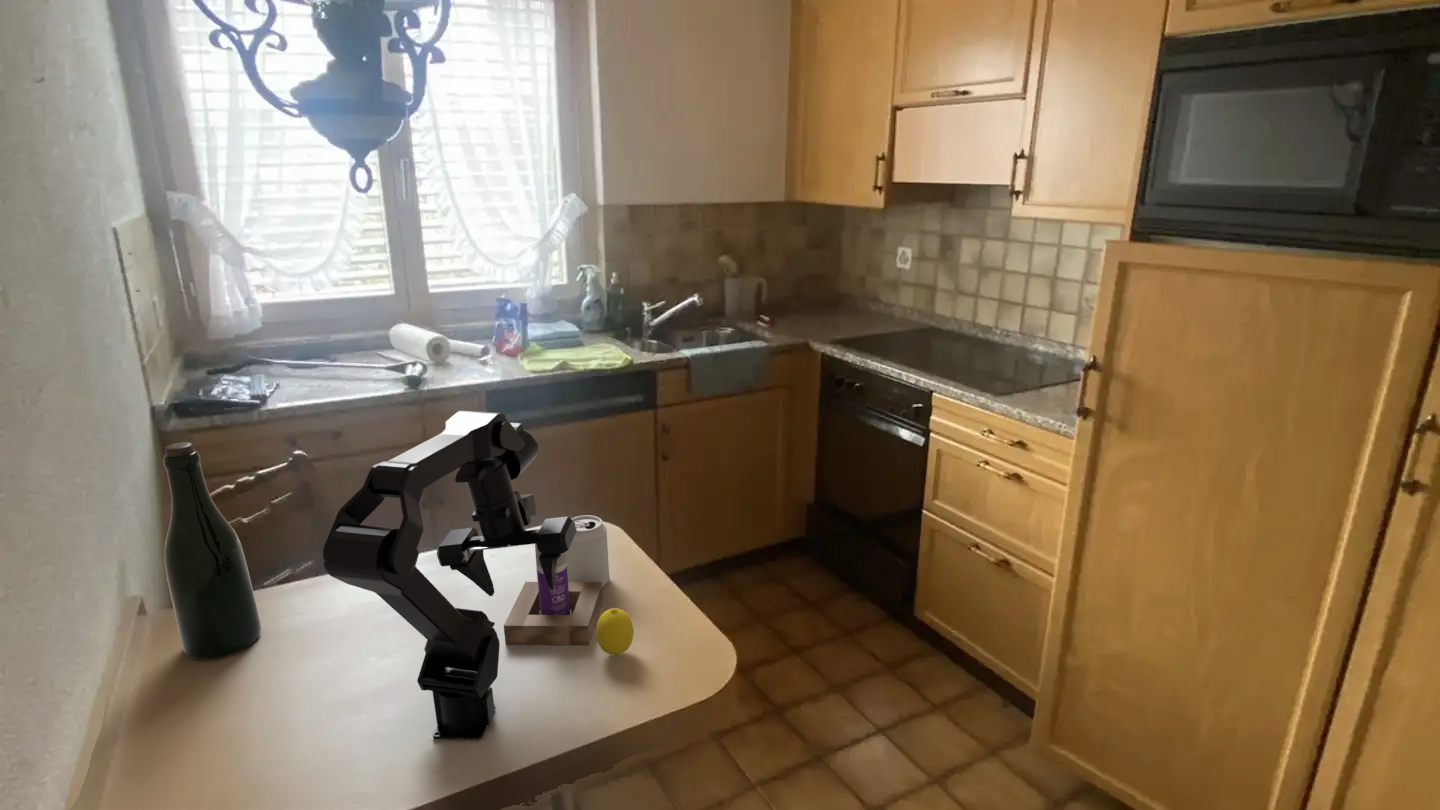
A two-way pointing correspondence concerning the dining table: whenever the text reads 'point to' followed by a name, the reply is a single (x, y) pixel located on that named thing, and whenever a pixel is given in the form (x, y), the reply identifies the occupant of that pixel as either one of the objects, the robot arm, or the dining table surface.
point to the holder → (554, 617)
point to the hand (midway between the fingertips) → (522, 591)
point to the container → (559, 596)
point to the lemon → (614, 631)
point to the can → (588, 551)
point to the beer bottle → (205, 565)
